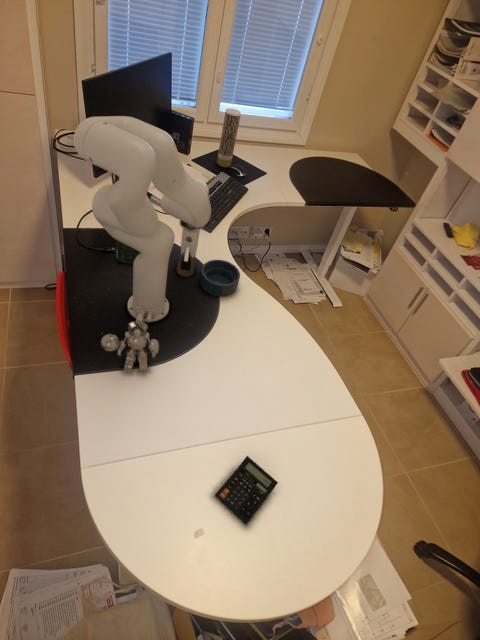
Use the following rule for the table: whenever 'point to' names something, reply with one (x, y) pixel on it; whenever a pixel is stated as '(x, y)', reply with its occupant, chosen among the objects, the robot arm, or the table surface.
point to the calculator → (246, 490)
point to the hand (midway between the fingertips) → (186, 264)
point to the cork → (185, 272)
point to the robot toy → (132, 345)
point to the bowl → (219, 277)
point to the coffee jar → (126, 253)
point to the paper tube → (228, 137)
